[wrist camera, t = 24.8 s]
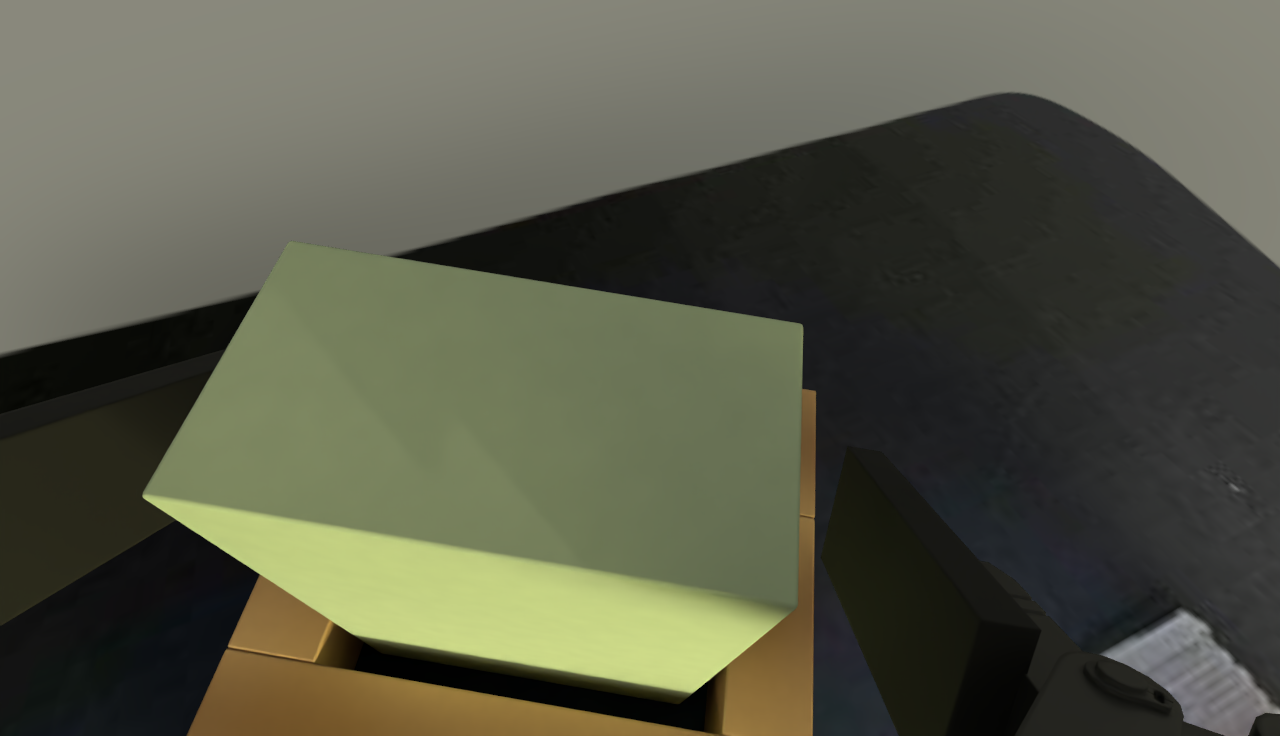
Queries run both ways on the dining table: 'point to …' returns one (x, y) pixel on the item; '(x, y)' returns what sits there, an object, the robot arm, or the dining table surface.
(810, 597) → the mount block
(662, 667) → the pale green block
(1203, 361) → the dining table surface
